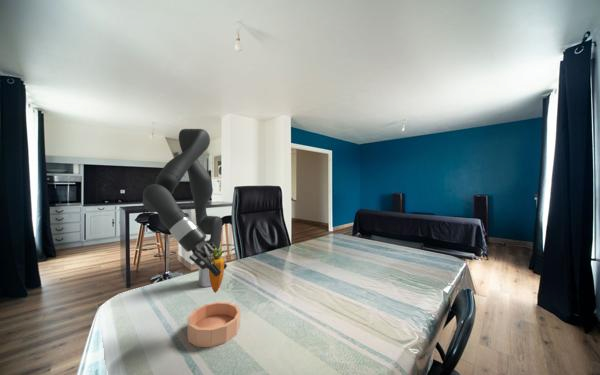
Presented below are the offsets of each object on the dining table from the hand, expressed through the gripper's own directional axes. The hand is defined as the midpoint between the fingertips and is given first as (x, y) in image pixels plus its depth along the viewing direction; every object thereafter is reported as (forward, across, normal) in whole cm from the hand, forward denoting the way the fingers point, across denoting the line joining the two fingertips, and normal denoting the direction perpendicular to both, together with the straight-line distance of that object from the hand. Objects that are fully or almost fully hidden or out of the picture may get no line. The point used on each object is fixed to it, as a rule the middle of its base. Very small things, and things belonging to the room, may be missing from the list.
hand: (222, 271), depth 72 cm
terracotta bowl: (+13, 0, +15) cm, 20 cm away
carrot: (+4, 0, +6) cm, 8 cm away
